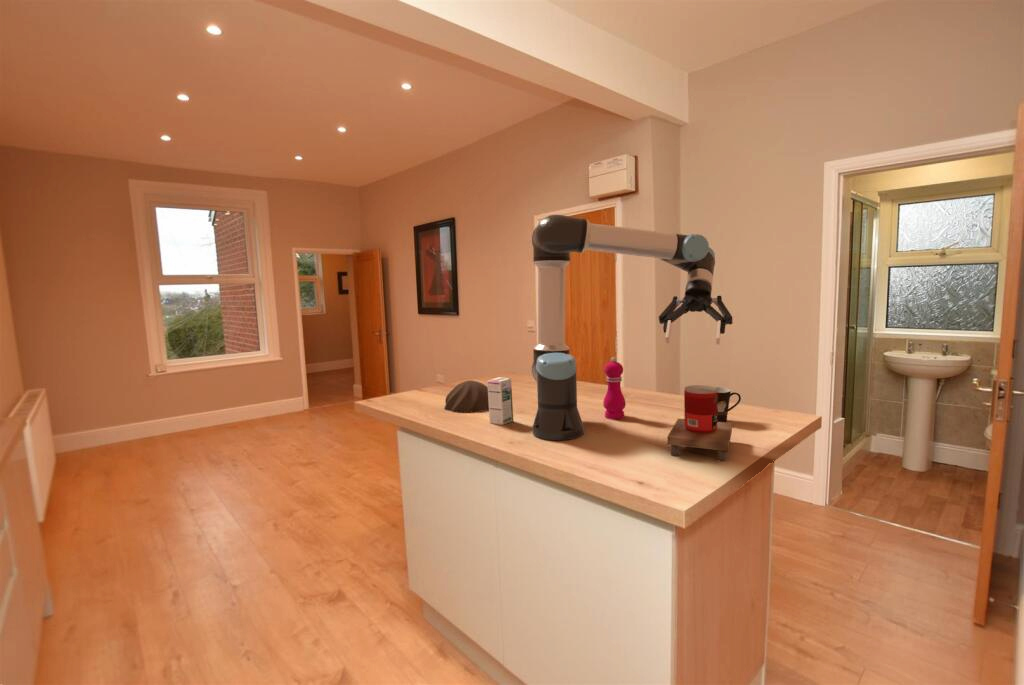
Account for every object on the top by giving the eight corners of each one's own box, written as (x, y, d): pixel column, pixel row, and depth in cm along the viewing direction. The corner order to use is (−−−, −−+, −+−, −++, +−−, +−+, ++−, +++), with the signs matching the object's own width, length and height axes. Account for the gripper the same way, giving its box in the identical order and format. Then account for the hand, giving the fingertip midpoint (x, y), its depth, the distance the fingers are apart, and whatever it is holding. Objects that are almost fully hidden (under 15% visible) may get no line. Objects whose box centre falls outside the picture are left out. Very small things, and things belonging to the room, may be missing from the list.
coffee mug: (700, 423, 148) (700, 392, 147) (700, 416, 156) (700, 386, 155) (742, 426, 144) (742, 393, 143) (740, 419, 152) (740, 387, 151)
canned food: (720, 434, 122) (720, 391, 121) (686, 433, 123) (686, 391, 122) (713, 425, 129) (713, 385, 128) (682, 425, 131) (682, 385, 130)
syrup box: (503, 425, 155) (501, 381, 154) (488, 423, 159) (486, 379, 157) (513, 421, 160) (512, 378, 158) (499, 418, 163) (497, 376, 162)
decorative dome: (479, 398, 197) (477, 373, 196) (505, 406, 181) (504, 380, 180) (435, 406, 186) (434, 380, 185) (460, 416, 170) (458, 388, 169)
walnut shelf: (667, 456, 122) (667, 436, 121) (677, 435, 138) (677, 418, 137) (728, 463, 116) (728, 442, 115) (731, 440, 132) (732, 423, 131)
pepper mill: (628, 415, 161) (628, 356, 159) (621, 420, 155) (620, 359, 153) (608, 413, 165) (607, 355, 163) (600, 418, 159) (599, 358, 157)
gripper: (743, 294, 146) (740, 350, 134) (658, 296, 157) (649, 347, 146) (743, 276, 141) (740, 333, 129) (655, 279, 152) (645, 331, 140)
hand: (691, 340), depth 137 cm, fingers open, 13 cm apart
